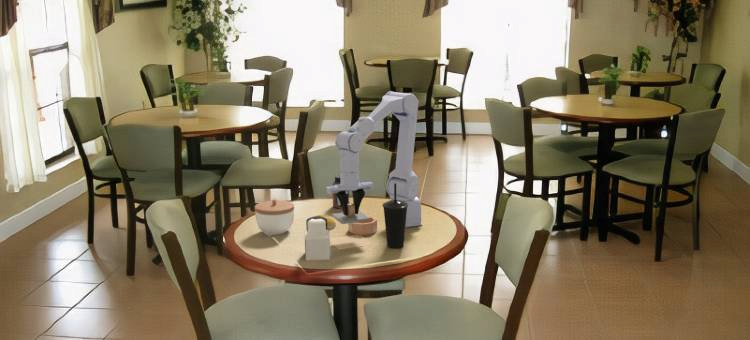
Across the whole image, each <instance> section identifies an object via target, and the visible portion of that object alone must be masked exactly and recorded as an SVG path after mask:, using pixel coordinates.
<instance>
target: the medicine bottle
mask: <svg viewBox="0 0 750 340" xmlns="http://www.w3.org/2000/svg"><path fill="white" fill-rule="evenodd" d="M305 221H306V230H305V231H304V253H305V254H304V256H305V261H322V260H323V261H325V260H326V261H327V260H329V261H330V260H331V242H330V238H331V237H330V236H331V235H330V230H327V219H326V218H324V217H320V216H317V215H315V216H310V217H308V218H307V219H306V220H305Z"/></svg>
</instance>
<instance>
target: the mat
mask: <svg viewBox="0 0 750 340" xmlns="http://www.w3.org/2000/svg"><path fill="white" fill-rule="evenodd" d="M330 244H332V245H333V246H334V247H335V248H336V249H337V250H339V251H340V250H347V249H355V248H358V247H359V248H360V247H368V246H373V243H371V242H370V241H369V240H367V239H366V238H365V237H364V236H363V235H358V234H354V235H353V234H352V235H347V236H340V237H339V236H338V237H330Z"/></svg>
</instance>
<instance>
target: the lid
mask: <svg viewBox="0 0 750 340" xmlns="http://www.w3.org/2000/svg"><path fill="white" fill-rule="evenodd" d="M331 216H332V217H331V218H332V219H334V220H336V221H337V222H339V223H340V224H341V225H347V224H348V223H355V222H363V221H370V218H369V217H370V216H369V217H367V215H366V214H364V213H363V212H362V211H360V210H359V211H358V214H355V204H353V203H349V204H348V215H347V216H345V215H344V214H343V212H338V213H332V214H331Z"/></svg>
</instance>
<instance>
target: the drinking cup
mask: <svg viewBox="0 0 750 340" xmlns="http://www.w3.org/2000/svg"><path fill="white" fill-rule="evenodd" d="M407 207H408V203H406V202H403V201H401V200H396V183H394V200H392V199H391V200H388V201H385V202H382V208H383V215H384V226H385V235H386V245H387V248H388V249H392V250H394V249H395V250H399V249H402V248H404V245H405V244H404V243H405V235H406V227H405V225H406V214H407Z"/></svg>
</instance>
